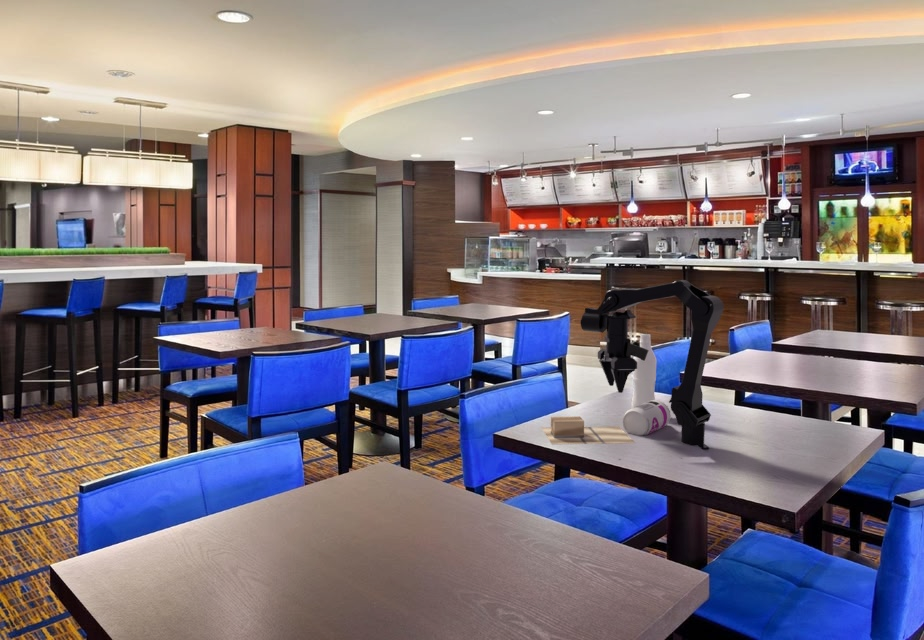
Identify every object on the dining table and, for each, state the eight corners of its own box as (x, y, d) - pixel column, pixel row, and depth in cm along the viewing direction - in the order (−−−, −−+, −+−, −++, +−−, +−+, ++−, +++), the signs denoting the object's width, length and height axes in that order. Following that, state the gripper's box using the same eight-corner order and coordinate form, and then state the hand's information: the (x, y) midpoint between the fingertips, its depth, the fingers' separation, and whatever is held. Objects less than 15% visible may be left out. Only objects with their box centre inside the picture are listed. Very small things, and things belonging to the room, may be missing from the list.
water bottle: (657, 417, 206) (660, 336, 203) (634, 417, 206) (636, 336, 204) (651, 411, 213) (654, 333, 211) (629, 411, 213) (631, 333, 211)
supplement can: (676, 411, 191) (654, 421, 179) (662, 433, 194) (638, 445, 183) (653, 393, 195) (630, 402, 183) (639, 415, 198) (615, 425, 187)
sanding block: (583, 437, 180) (584, 421, 180) (554, 438, 180) (554, 421, 179) (579, 432, 185) (580, 416, 184) (550, 432, 185) (550, 416, 184)
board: (635, 447, 175) (635, 442, 175) (551, 448, 174) (551, 444, 174) (618, 430, 191) (618, 426, 191) (541, 431, 190) (541, 427, 190)
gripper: (656, 338, 179) (655, 396, 181) (635, 329, 198) (633, 382, 200) (615, 338, 179) (614, 396, 180) (597, 330, 197) (596, 382, 199)
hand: (615, 389), depth 190 cm, fingers open, 9 cm apart
